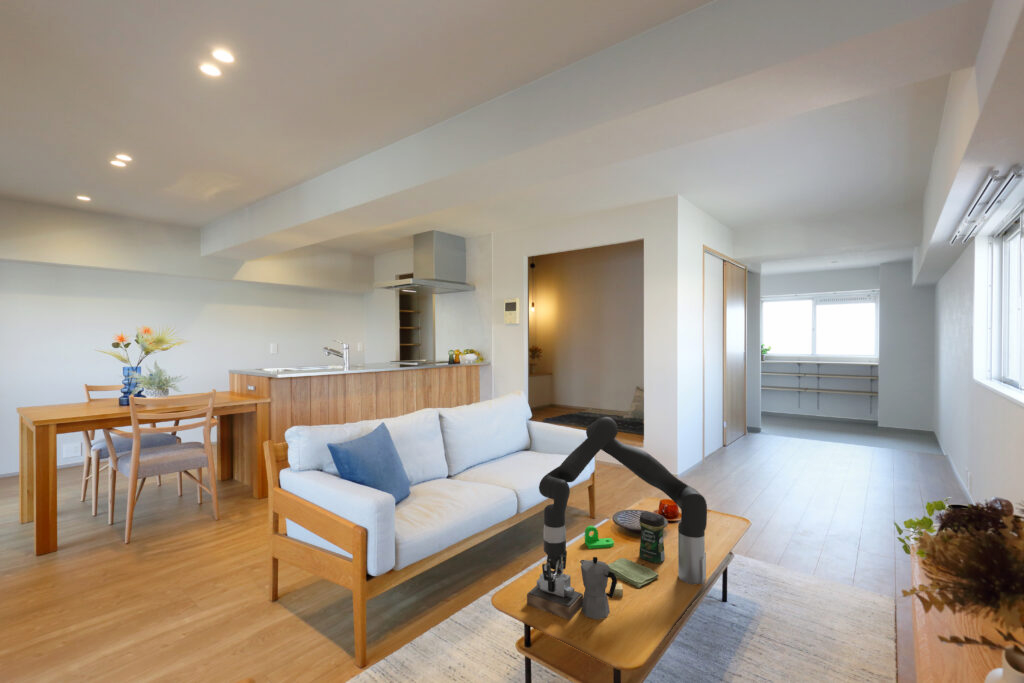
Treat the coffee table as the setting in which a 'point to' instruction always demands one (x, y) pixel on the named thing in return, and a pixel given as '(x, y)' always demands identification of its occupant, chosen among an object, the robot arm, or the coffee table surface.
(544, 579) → the robot arm
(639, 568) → the washcloth
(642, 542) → the coffee jar
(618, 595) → the brass block
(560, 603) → the stand
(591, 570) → the coffeepot
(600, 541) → the mechanical part
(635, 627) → the coffee table surface
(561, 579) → the block
